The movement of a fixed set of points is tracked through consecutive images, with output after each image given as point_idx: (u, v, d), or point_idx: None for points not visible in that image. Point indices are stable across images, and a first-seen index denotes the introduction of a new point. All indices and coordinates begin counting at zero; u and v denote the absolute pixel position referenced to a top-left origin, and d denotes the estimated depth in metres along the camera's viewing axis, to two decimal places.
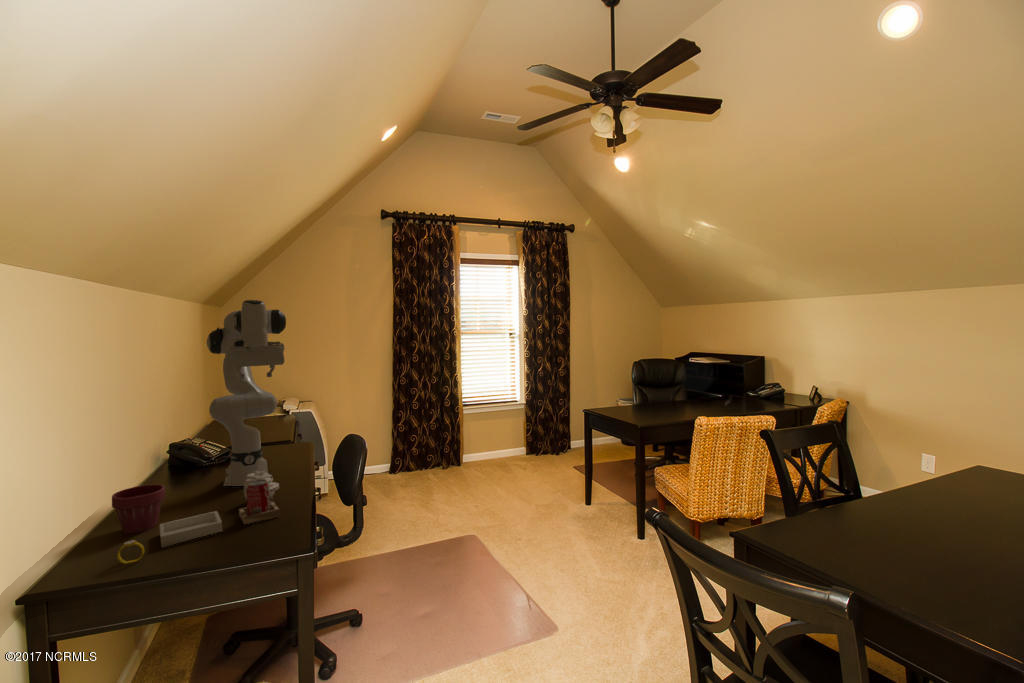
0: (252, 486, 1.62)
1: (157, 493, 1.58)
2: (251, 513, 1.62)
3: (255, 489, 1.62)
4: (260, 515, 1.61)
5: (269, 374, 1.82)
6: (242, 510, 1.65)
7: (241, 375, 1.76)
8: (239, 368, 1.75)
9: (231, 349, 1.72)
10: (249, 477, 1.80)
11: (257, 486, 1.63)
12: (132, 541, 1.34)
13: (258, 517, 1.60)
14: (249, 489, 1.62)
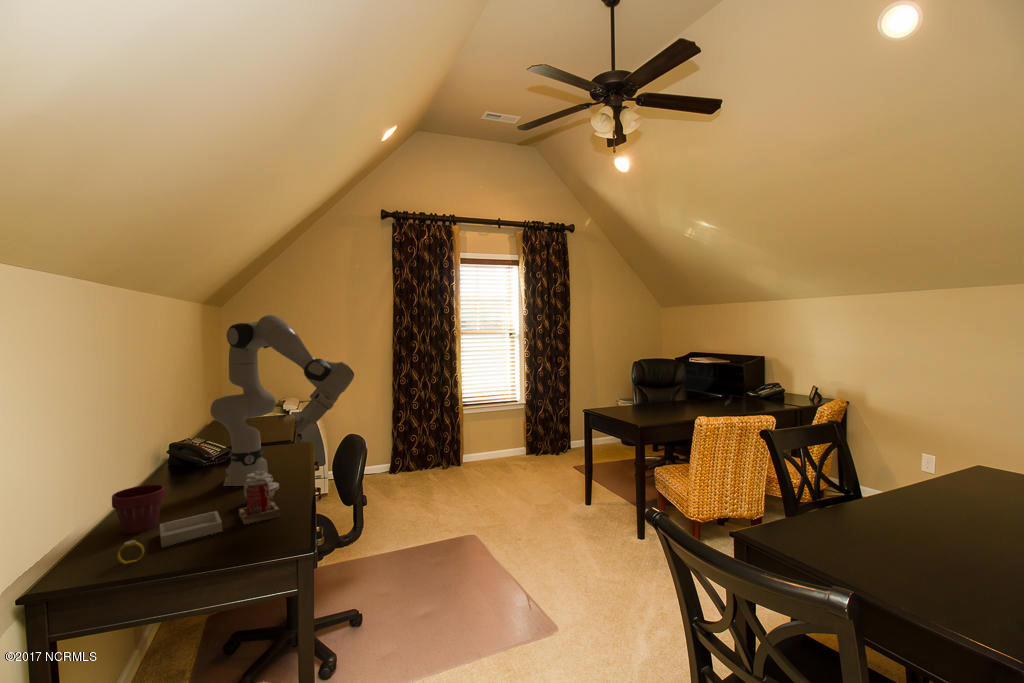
0: (252, 486, 1.62)
1: (157, 493, 1.58)
2: (251, 513, 1.62)
3: (255, 489, 1.62)
4: (260, 515, 1.61)
5: None
6: (242, 510, 1.65)
7: None
8: (309, 423, 1.71)
9: None
10: (249, 477, 1.80)
11: (257, 486, 1.63)
12: (132, 541, 1.34)
13: (258, 517, 1.60)
14: (249, 489, 1.62)
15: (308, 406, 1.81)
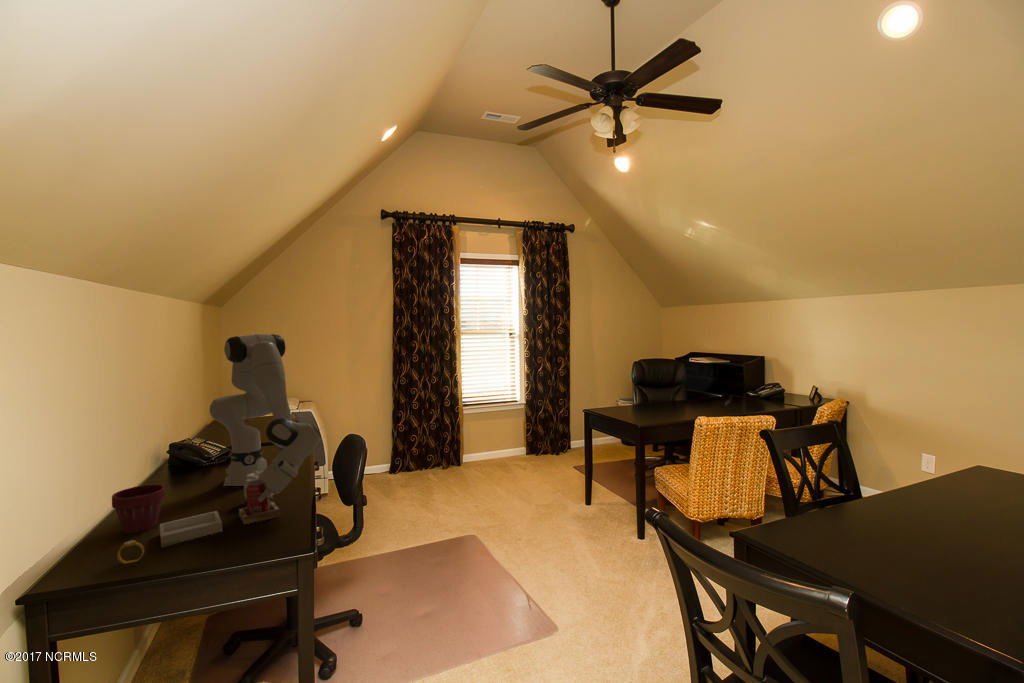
0: (252, 486, 1.62)
1: (157, 493, 1.58)
2: (251, 513, 1.62)
3: (255, 488, 1.62)
4: (260, 515, 1.61)
5: None
6: (242, 510, 1.65)
7: None
8: None
9: None
10: (249, 477, 1.80)
11: (257, 485, 1.63)
12: (132, 541, 1.34)
13: (258, 517, 1.60)
14: (249, 489, 1.62)
15: (269, 470, 1.72)
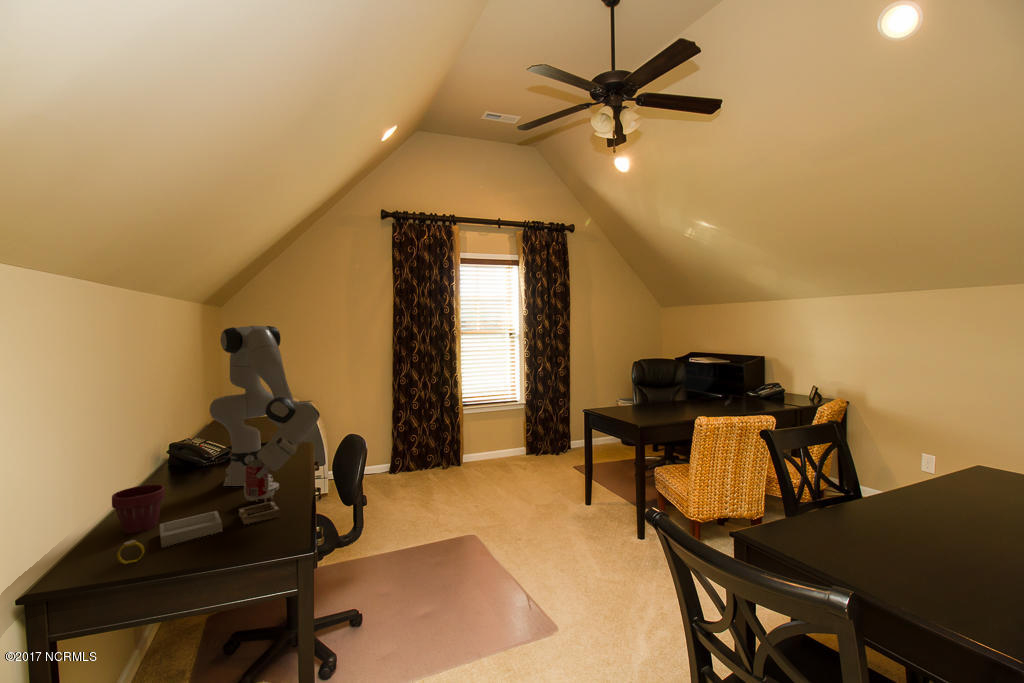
0: (250, 467, 1.62)
1: (157, 493, 1.58)
2: (248, 492, 1.64)
3: (253, 471, 1.62)
4: (260, 515, 1.61)
5: None
6: (242, 510, 1.65)
7: None
8: None
9: (289, 456, 1.64)
10: None
11: (255, 468, 1.62)
12: (132, 541, 1.35)
13: (258, 517, 1.60)
14: (247, 469, 1.63)
15: (268, 447, 1.72)
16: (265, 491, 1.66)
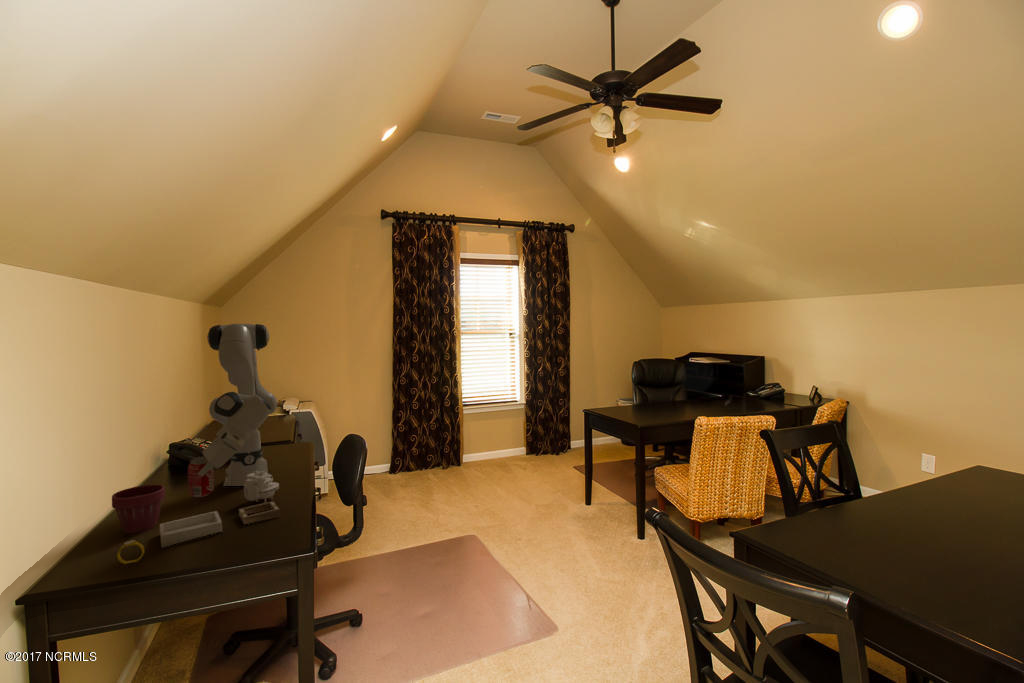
0: (192, 464, 1.51)
1: (157, 493, 1.58)
2: (191, 491, 1.53)
3: (195, 468, 1.51)
4: (260, 515, 1.61)
5: None
6: (242, 510, 1.65)
7: None
8: None
9: (235, 452, 1.53)
10: (249, 477, 1.80)
11: (197, 465, 1.51)
12: (132, 541, 1.34)
13: (258, 517, 1.60)
14: (189, 467, 1.52)
15: (214, 443, 1.61)
16: (210, 490, 1.55)
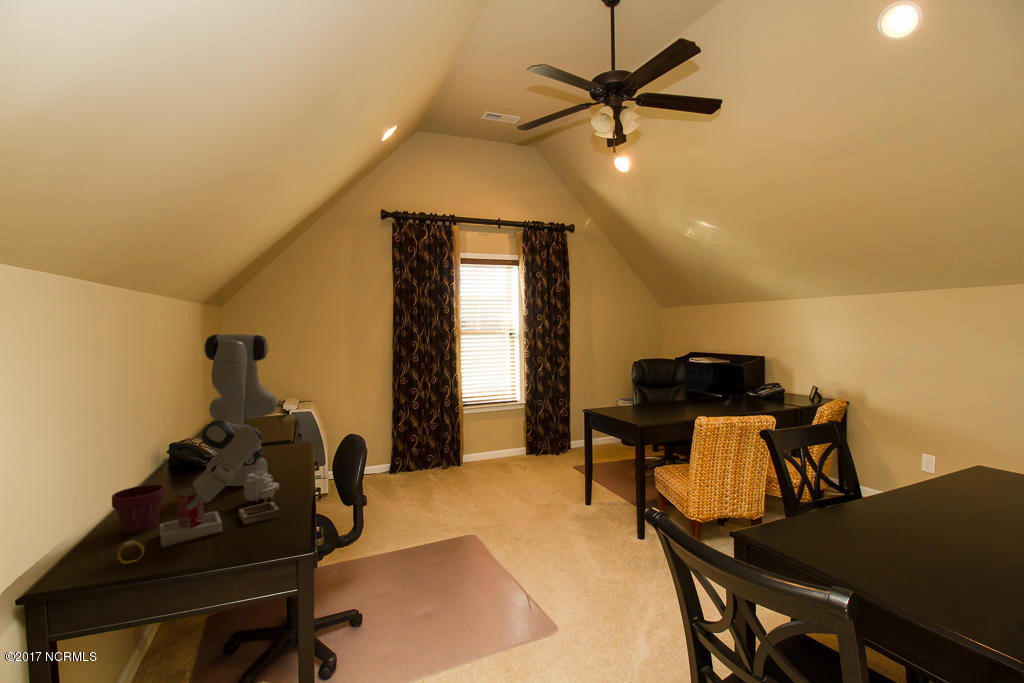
0: (181, 496, 1.50)
1: (157, 493, 1.58)
2: (180, 523, 1.51)
3: (184, 500, 1.49)
4: (260, 515, 1.61)
5: None
6: (242, 510, 1.65)
7: None
8: None
9: (224, 485, 1.51)
10: (249, 477, 1.80)
11: (186, 497, 1.50)
12: (132, 541, 1.34)
13: (258, 517, 1.60)
14: (179, 498, 1.50)
15: (204, 475, 1.59)
16: (199, 522, 1.53)
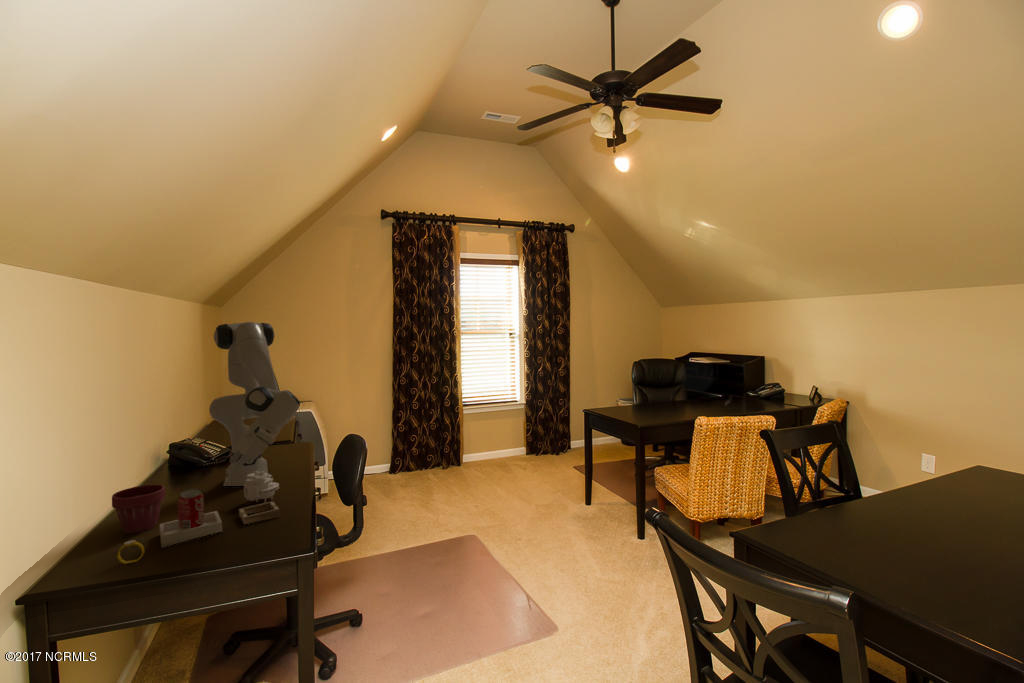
0: (182, 498, 1.49)
1: (157, 493, 1.58)
2: (180, 524, 1.51)
3: (184, 502, 1.49)
4: (260, 515, 1.61)
5: None
6: (242, 510, 1.65)
7: None
8: None
9: (267, 445, 1.60)
10: (249, 477, 1.80)
11: (187, 499, 1.50)
12: (132, 541, 1.35)
13: (258, 517, 1.60)
14: (179, 500, 1.50)
15: (247, 437, 1.67)
16: (199, 523, 1.53)
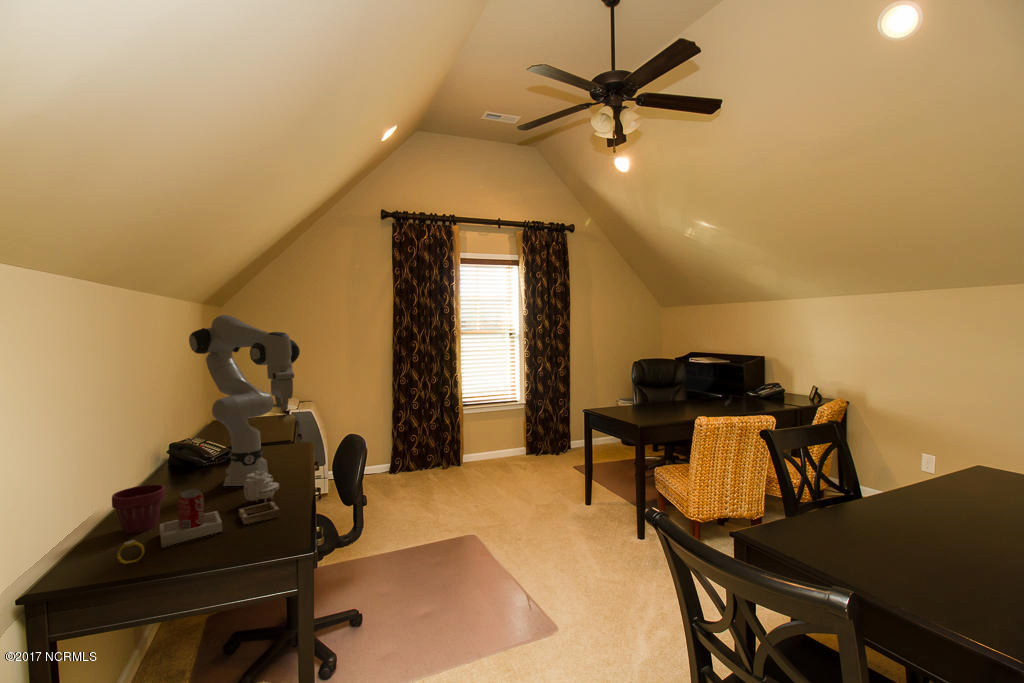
0: (182, 498, 1.49)
1: (157, 493, 1.58)
2: (180, 524, 1.51)
3: (184, 502, 1.49)
4: (260, 515, 1.61)
5: None
6: (242, 510, 1.65)
7: None
8: (287, 399, 1.79)
9: (292, 380, 1.78)
10: (249, 477, 1.80)
11: (187, 499, 1.50)
12: (132, 541, 1.34)
13: (258, 517, 1.60)
14: (179, 500, 1.50)
15: (273, 384, 1.86)
16: (199, 523, 1.53)
